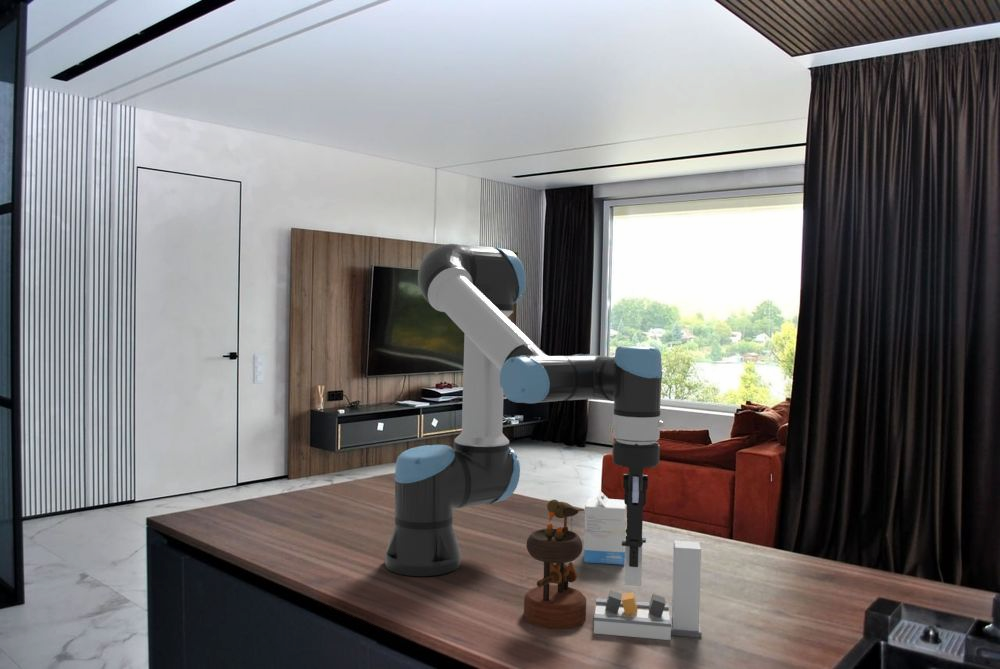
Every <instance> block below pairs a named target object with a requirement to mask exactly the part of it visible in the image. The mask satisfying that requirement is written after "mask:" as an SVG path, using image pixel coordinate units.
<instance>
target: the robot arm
mask: <svg viewBox="0 0 1000 669" xmlns="http://www.w3.org/2000/svg"><path fill="white" fill-rule="evenodd" d="M524 268H525V267H524V265H523V263H522V261H521V260H520V258H519V256H517V254H515V252H514V251H512V250H510V249H507V248H506V249H505V248H499V247H498V246H497V247H496V246H482V245H481V246H480V245H479V246H478V245H466V244H455V243H448V244H443V245H439V246H437V247H435V248H434V249H432V250H431V251H429V252H428V253H427V254H426V255H425V257H424V258H423V259H422V261H421V263H420V266H419V268H418V272H417V284H418V287H419V290H420V292H421V295H422V296H423V298H424V299H425V300H426V302H427V303H428V304H429V305H430V306H431V307H432V308H433V309H434V310H436V311H438V312H442V313H445V314H446V315H447V316H448V317H449V318H450V319H451V321H452V322H453V323H454V324H455V325H456V326H457V327H458V328H459V330H461V331H462V332H463V333H464V336H463V337H464V338H463V339H464V340H463V341H464V342H463V346H464V347H463V375H462V380H463V381H462V410H461V411H462V412H461V413H462V415H461V432H460V434H459V435H457V436H456V438H454V440H453V441H454V446H453V447H454V448H453V447H452V446H450V445H446V444H432V445H429V444H427V445H420V446H415V447H411V448H409V449H406V450H404V451H402V452H401V453H400V454H399V455H398V456H397V459H396V460H395V461H396V462H395V468H394V469H395V471H394V476H393V477H394V481H395V482H394V527H393V531H392V533H391V536H390V539H389V542H388V545H387V548H386V551H385V555H384V558H385V559H384V562H385V563H384V566H385V567H386V569H388V570H389V571H390V572H393V573H395V574H399V575H403V576H411V577H431V576H432V577H433V576H439V575H445V574H448V573H452V572H453V571H455V570H457V569H459V568H460V566H461V562H462V561H461V559H462V558H461V555H462V554H461V550H460V547H459V544H458V540H457V537H456V533H455V530H454V527H453V525H454V524H453V515H454V514H453V511H454V510H455V509H461V508H467V507H473V506H480V505H491V504H492V505H493V504H495V503H497V502H498V503H499V502H502V501H504V500H507V499H509V498H510V496H511V495H513V494H514V492H515V491H516V489H517V488H518V485H519V481H520V476H521V464H520V461H519V459H517V458H518V454H517V453H516V452H515V450H514V449H513V448H512V447H510V439H508V437H507V436H505V434H504V433H503V425H504V423H503V421H504V420H503V419H504V396H505V398H506V399H508V401H511V402H513V403H517V404H519V403H521V404H523V403H524V404H530V405H531V404H537V403H548V402H559V401H561V402H562V401H574V400H575V401H578V400H579V401H581V400H602V401H604V400H605V401H610V402H613V416H612V417H613V418H612V422H613V423H612V437H613V438H614V439H615V441H614V442H613V443H612V463H613V464H614V465H616V466H618V467H622V468H623V467H624V468H625V467H626V468H628V474H627V473H624V474H623V477H622V478H623V480H622V488H623V489H624V497H623V498H624V499H623V500H624V503H625V504H626V505H627V521H626V541H622V546H625V563H624V586H633V587H642V576H643V575H642V570H643V568H642V567H643V544H645V543H647V538H646V537H643V523H644V522H643V518H644V516H643V515H644V506H646V504H647V490H648V487H649V478H648V474H643V472H644V469H645V468H646V469H652V468H656V467H658V466H659V464H660V449H661V447H660V444H659V442H657V441H658V440H659V439H660V433H661V432H660V428H664V426H665V423H664V421H662V420H661V396H662V394H661V393H662V382H663V381H662V380H663V368H662V365H663V364H662V354H661V351H660V349H659V348H658V347H656V346H641V345H640V346H638V345H620V346H618V347H616V349H615V353H614V356H607V355H606V356H605V355H597V354H593V353H585V354H584V353H578V354H572V355H549V354H546V353H545V352H544V351H543V350H542V349H540V347H539V346H537V344H535V342H533V341H532V340H531V339H530V338H529V337H528V336H527V335H526V334H525V333H524V332H523V331H522V330H521V329H520V328H519V327H518V326H517V325H516V324H515V323H514V322H513V321H511V320H510V318H509V316H511V315H512V314H513V313H514V304H516V303H518V302H519V301H520V300H521V299H522V297H523V295H522V294H524V293H525V290H526V284H527V283H526V282H527V281H526V279H527V278H526V271H525V269H524Z"/></svg>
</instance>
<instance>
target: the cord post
mask: <svg viewBox="0 0 1000 669" xmlns="http://www.w3.org/2000/svg"><path fill="white" fill-rule="evenodd" d="M672 559H673V563H672V596H671V597H672V598H671V599H672V600H671V601H672V602H671V603H672V605H671V617H670V620H671V636H679V637H688V638H690V637H691V638H701V639H702V636H703V635H702V634H703V633H702V628H701V624H700V607H701V606H700V604H701V603H700V600H701V599H700V598H701V596H700V595H701V564H702V563H701V561H702V547H701V544H700V541H691V540H688V541H687V540H675V539H674V540H673V558H672Z"/></svg>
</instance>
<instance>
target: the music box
mask: <svg viewBox="0 0 1000 669" xmlns="http://www.w3.org/2000/svg"><path fill="white" fill-rule="evenodd" d="M546 505H547V506H546V509H547V510H548V512H549V514H548V515H549V518H548V519H549V522H551V521H552V519H553V518H554V517H556V518H558V519H563V526H559V527H558V528H557V527H556V528H553V524H552V523H550V524H547V525H546V528H543V529H542V528H541V529H537V530H535V531H533V532H531V533H530V534H529V535H528V537H527V540H526V549H527V552H528V554H529V555H530V556H531V557H532V558H533V559H534V560H537V561H538V562H542V563H543V578H542V579H539V580H538V581H536V586H535V587H532V588H531V589H529V590H528V591H527V592H526V593H525V594H524V596H523V617H524V619H525V620H526V621H527V623H530V624H532V625H534V626H537V627H540V628H545V629H553V630H555V629H556V630H559V629H561V630H563V629H572V628H576V627H578V626H581V625H583V624H584V622H585V621H586V619H587V597H586V596H585V595H584V594H583V593H582V592H581V591H580V590H578V589H576V588H573V587H570V586H569V583H574V582H576V581H577V579H578V573H577V571H576V568H575V566H574V563H573V561H575V560H577V559H578V558H579V557H580V556H581V554H582V552H583V548H584V546H583V545H584V544H583V540H582V539H581V537H580V536H579V534H577V533H576V532H574V531H573V520H574V519H573V517H574V516H575V515H577V514H579V512H582V511H583V512H585V508H581V507H577V506H576V507H575V506H573V505H572V504H570V503H568V502H565V501H559V500H557V499H551V500H549V501H548V503H547V504H546ZM569 517H570V518H571V519H570V522H571V528H570V530H569V527H568V525H567V524H568V518H569ZM565 563H568V564H565ZM555 584H556V585H555Z"/></svg>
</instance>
